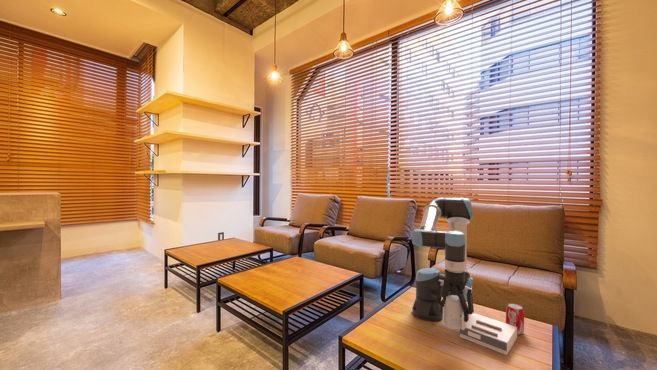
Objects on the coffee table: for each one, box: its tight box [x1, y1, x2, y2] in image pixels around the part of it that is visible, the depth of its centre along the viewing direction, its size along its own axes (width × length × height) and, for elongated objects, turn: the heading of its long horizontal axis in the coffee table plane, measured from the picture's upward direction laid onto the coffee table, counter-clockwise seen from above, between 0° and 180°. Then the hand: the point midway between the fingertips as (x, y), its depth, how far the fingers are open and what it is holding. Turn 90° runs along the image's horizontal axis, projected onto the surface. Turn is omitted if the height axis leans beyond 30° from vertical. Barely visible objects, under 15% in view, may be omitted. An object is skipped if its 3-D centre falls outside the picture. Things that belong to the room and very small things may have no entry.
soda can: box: [505, 302, 525, 336], centre depth 128 cm, size 7×7×12 cm
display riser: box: [459, 312, 518, 356], centre depth 123 cm, size 18×18×6 cm
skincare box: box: [444, 295, 463, 330], centre depth 114 cm, size 6×4×12 cm
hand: (454, 324), depth 114 cm, fingers closed on skincare box, 7 cm apart
